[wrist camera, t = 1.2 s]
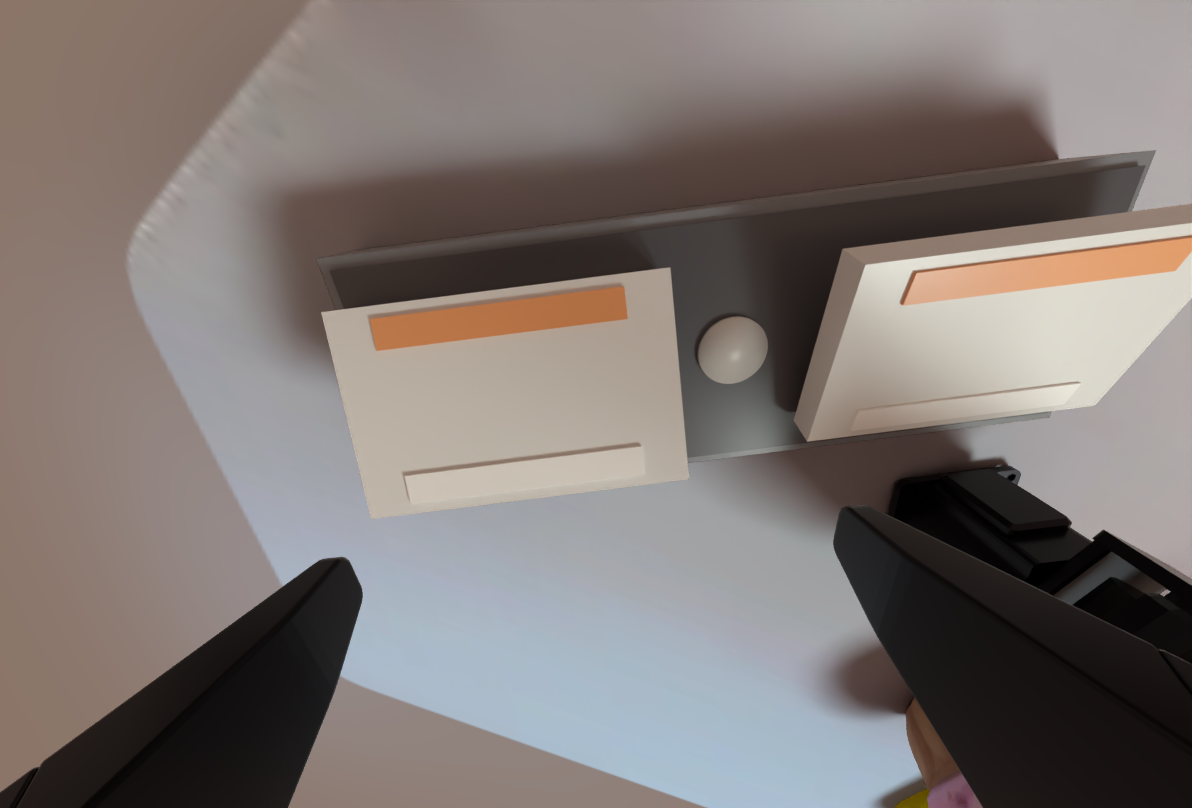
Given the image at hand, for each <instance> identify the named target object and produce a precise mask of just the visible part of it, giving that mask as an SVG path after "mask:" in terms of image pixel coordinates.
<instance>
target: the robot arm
mask: <svg viewBox="0 0 1192 808" xmlns="http://www.w3.org/2000/svg"><path fill="white" fill-rule="evenodd" d="M1020 476H1021V473H1020V471H1018V470H1016V469H1015V468H1013V467H1011V466H1002V467H994V468H986V469H978V470H970V471H962V472H954V473H946V474H938V475H930V476H922V477H914V478H906V479H902V480H900V481H899V482H898V483H897V484H896V485H895V488H894V492H893V497H892V501H891V505H890V509H889V513H888V515H887V514H885V513H883V512H881V511H879V510H877V509H875V508H873V507H870V506H868V505H854V506H845V507H843V508H842V509H841V510H840V512H839V516H838V521H837V525H836V530H835V535H834V540H833V545H834V550H835V553H836V555H837V557H838V559H839V561H840V563H841V565H842V567H843V569H844V571H845V573H846V575H847V577H848V579H849V581H850V584H851V586H852V588H853V590H854V592H855V594H856V596H857V598H858V600H859V602H860V604H861V606H862V608H863V610H864V612H865V614H866V616H867V618H868V620H869V622H870V624H871V626H872V628H873V629H874V631H875V633H876V635H877V637H878V638H879V640H880V642H881V644H882V645H883V647H884V649H885V650H886V652H887V654H888V655H889V657H890V658H891V660H892V662H893V663H894V665H895V667H896V668H897V670H898V671H899V673H900V675H901V676H902V678H903V679H904V681H905V683H906V684H907V686H908V688H909V689H910V691H911V692H912V694H913V696H914V697H915V699H916V700H917V702H918V704H919V705H920V707H921V709H922V710H923V712H924V713H925V715H926V717H927V718H928V720H929V722H930V723H931V725H932V726H933V728H934V730H935V731H936V733H937V734H938V736H939V738H940V739H941V741H942V743H943V744H944V746H945V747H946V749H947V751H948V752H949V754H950V755H951V757H952V759H953V760H954V762H955V764H956V765H957V767H958V768H959V770H960V772H961V773H962V775H963V777H964V778H965V780H966V781H967V783H968V785H969V786H970V788H971V789H972V791H973V793H974V794H975V796H976V798H977V799H978V801H979V802H980V804H981V806H982V807H983V808H1192V579H1191V578H1189V577H1187V576H1186V575H1184V574H1182V573H1181V572H1179V571H1177V570H1176V569H1174V568H1172V567H1171V566H1169V565H1167V564H1166V563H1164V562H1162V561H1160V560H1158V559H1157V558H1155V557H1153V556H1151V555H1149V554H1147V553H1146V552H1144V551H1142V550H1140V549H1138V548H1136V547H1135V546H1133V545H1131V544H1129V543H1127V542H1125V541H1124V540H1122V539H1120V538H1118V537H1116V536H1114V535H1113V534H1111V533H1109V532H1107V531H1105V530H1102V531H1101V532H1100V533H1098V534H1097V535H1096V536H1094V537H1093V538H1092V539H1094V541H1093V542H1092V541H1090V540H1089V539H1087V538H1086V537H1084V536H1083V535H1081V534H1080V533H1078V532H1076V531H1075V530H1073V529H1072V528H1070V526H1071V524H1072V522H1071V521H1070V520H1069V519H1068V518H1067V517H1066V516H1065V515H1063V514H1062V513H1060V512H1059V511H1057V510H1055V509H1054V508H1052V507H1051V506H1049V505H1048V504H1046V503H1044V502H1043V501H1041V500H1040V499H1038V498H1037V497H1035V496H1033V495H1032V494H1030V493H1029V492H1027V491H1026V490H1024V489H1022V488H1021V487H1019V486H1018V485H1017V484H1018V482H1019V479H1020ZM1166 589H1168V590H1169V591H1171V592H1170V593H1169V594H1167V595H1166V596H1164V597H1163V596H1162V595H1160V593H1162V592H1163V591H1165V590H1166ZM362 597H363V592H362V588H361V585H360V583H359V581H358V579H357V576H356V574H355V572H354V570H353V568H352V566H351V563H350V562H349V560H348V559H346V558H344V557H336V558H326V559H322V560H319V561H318V562H316V563H315V564H313V565H312V566H311V567H309V568H308V569H307V570H305V571H304V572H302V573H301V574H300V575H298V576H297V577H296V578H294V579H293V580H291V581H290V582H289V583H287V584H286V585H285V586H283V587H282V588H280V589H279V590H278V591H276V592H275V593H274V594H272V595H271V596H270V597H268V598H267V599H265V600H264V601H263V602H262V603H260V604H259V605H257V606H256V607H254V608H253V609H252V610H250V611H249V612H247V613H246V614H245V615H243V616H242V617H241V618H239V619H238V620H236V621H235V622H234V623H232V624H231V625H230V626H228V627H227V628H225V629H224V630H223V631H221V632H220V633H219V634H217V635H216V636H214V637H213V638H212V639H210V640H209V641H208V642H206V643H205V644H203V645H202V646H201V647H199V648H198V649H197V650H195V651H194V652H192V653H191V654H190V655H189V656H187V657H186V658H184V659H183V660H181V661H180V662H179V663H177V664H176V665H175V666H173V667H172V668H171V669H169V670H168V671H166V672H165V673H164V674H162V675H161V676H159V677H158V678H157V679H156V680H154V681H153V682H151V683H150V684H149V685H147V686H146V687H144V688H143V689H142V690H140V691H139V692H138V693H136V694H135V695H133V696H132V697H131V698H129V699H128V700H127V701H125V702H124V703H122V704H121V705H120V706H119V707H117V708H116V709H114V710H113V711H111V712H110V713H109V714H107V715H106V716H105V717H103V718H102V719H101V720H99V721H98V722H96V723H95V724H94V725H92V726H91V727H89V728H88V729H87V730H85V731H84V732H83V733H81V734H80V735H78V736H77V737H76V738H74V739H73V740H72V741H70V742H69V743H67V744H66V745H65V746H63V747H62V748H61V749H59V750H58V751H57V752H55V753H54V754H52V755H51V756H50V757H48V758H47V759H46V760H44V761H43V762H42V764H41V765H40V767H36V768H33V769H32V770H30V771H29V772H27V773H26V774H25V775H23V776H22V777H21V778H19V779H18V780H16V781H15V782H14V783H12V784H11V785H10V786H8V787H7V788H6V789H4V790H3V791H1V792H0V808H288V806H289V804H290V801H291V799H292V796H293V793H294V792H295V789H296V786H297V784H298V782H299V779H300V777H301V774H302V772H303V769H304V767H305V764H306V762H307V759H308V757H309V754H310V752H311V749H312V747H313V744H314V742H315V739H316V737H317V735H318V732H319V729H320V727H321V725H322V722H323V720H324V717H325V715H326V712H327V710H328V707H329V705H330V702H331V699H332V697H333V694H334V692H335V688H336V685H337V682H338V679H339V676H340V673H341V670H342V667H343V663H344V660H345V657H346V653H347V650H348V647H349V643H350V640H351V637H352V633H353V630H354V627H355V623H356V620H357V617H358V613H359V610H360V607H361V603H362Z"/></svg>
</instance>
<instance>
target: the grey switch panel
mask: <svg viewBox="0 0 1192 808" xmlns="http://www.w3.org/2000/svg"><path fill="white" fill-rule="evenodd" d="M1155 152H1156V150H1154V151H1143V152H1132V153H1121V154H1110V155H1099V156H1088V157H1077V158H1067V159H1057V160H1049V161H1042V162H1034V163H1026V164H1019V165H1011V166H1003V167H995V168H988V169H980V170H972V171H964V172H957V173H949V174H941V175H934V176H926V177H918V178H910V179H903V180H895V181H887V182H880V183H872V184H864V185H856V186H849V187H841V188H833V189H826V190H818V191H810V192H802V193H795V194H787V195H779V196H771V197H764V198H756V199H748V200H741V201H733V202H725V203H717V204H710V205H702V206H694V207H687V208H679V209H671V210H663V211H656V212H648V213H640V214H633V215H625V216H617V217H609V218H602V219H594V220H586V221H578V222H571V223H563V224H555V225H548V226H540V227H532V228H524V229H517V230H509V231H501V232H494V233H486V234H478V235H470V236H463V237H455V238H447V239H440V240H432V241H424V242H416V243H409V244H401V245H393V246H385V247H378V248H370V249H362V250H356V251H351V252H347V253H342V254H337V255H333V256H328V257H323V258H319V259H316V260H317V263H318V266H319V268H320V271H321V273H322V276H323V278H324V281H325V284H326V286H327V289H328V291H329V294H330V296H331V299H332V302H333V304H334V307H335V309H336V310H342V309H350V308H358V307H366V306H373V305H381V304H389V303H397V302H405V301H412V300H420V299H428V298H436V297H443V296H451V295H459V294H467V293H475V292H482V291H490V290H498V289H506V288H513V287H521V286H529V285H537V284H545V283H552V282H560V281H568V280H576V279H583V278H591V277H599V276H607V275H615V274H622V273H630V272H638V271H646V270H653V269H661V268H669V267H670V269H671V280H672V292H673V303H674V314H675V325H676V337H677V348H678V359H679V371H680V382H681V393H682V404H683V416H684V427H685V438H686V450H687V461H688V463H691V462H699V461H707V460H715V459H723V458H731V457H739V456H747V455H755V454H763V453H771V452H779V451H787V450H795V449H803V448H811V447H819V446H827V445H835V444H843V443H851V442H859V441H867V440H875V439H883V438H891V437H899V436H907V435H915V434H923V433H931V432H939V431H947V430H955V429H963V428H971V427H979V426H987V425H995V424H1003V423H1011V422H1018V421H1026V420H1034V419H1042V418H1049V417H1050V414H1051V412H1052V411H1048V412H1040V413H1032V414H1024V415H1016V416H1008V417H1000V418H992V419H984V420H976V421H968V422H960V423H952V424H944V425H936V426H928V427H920V428H912V429H904V430H896V431H888V432H881V433H873V434H865V435H857V436H849V437H841V438H833V439H825V440H817V441H809V442H807V441H806V439H805V437H804V436H803V434H802V433H801V431H800V430H799V428H798V426H797V425H796V423H795V422H794V418H795V414H796V411H797V407H798V403H799V400H800V396H801V393H802V389H803V386H804V382H805V379H806V375H807V372H808V368H809V365H810V361H811V358H812V354H813V351H814V347H815V344H816V340H817V337H818V333H819V330H820V326H821V323H822V319H823V316H824V312H825V309H826V305H827V302H828V298H829V295H830V291H831V288H832V284H833V281H834V277H835V274H836V270H837V267H838V263H839V260H840V256H841V253H842V249H845V248H853V247H860V246H868V245H876V244H884V243H892V242H899V241H907V240H915V239H923V238H930V237H938V236H946V235H954V234H962V233H969V232H977V231H985V230H993V229H1000V228H1008V227H1016V226H1024V225H1032V224H1039V223H1047V222H1055V221H1063V220H1071V219H1078V218H1086V217H1094V216H1102V215H1109V214H1117V213H1125V212H1132V209H1133V207H1134V204H1135V202H1136V199H1137V197H1138V194H1139V192H1140V189H1141V187H1142V184H1143V182H1144V179H1145V177H1146V174H1147V172H1148V169H1149V167H1150V164H1151V162H1152V159H1153V157H1154V154H1155Z"/></svg>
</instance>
